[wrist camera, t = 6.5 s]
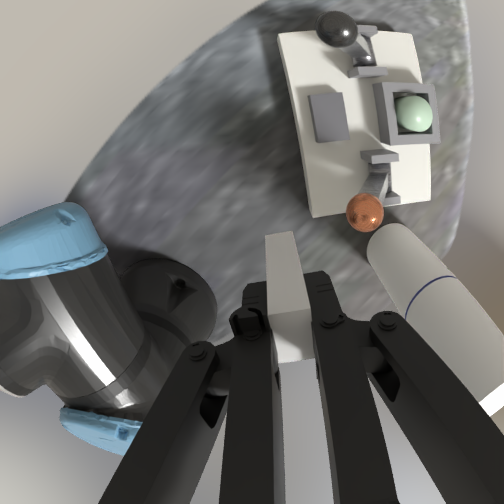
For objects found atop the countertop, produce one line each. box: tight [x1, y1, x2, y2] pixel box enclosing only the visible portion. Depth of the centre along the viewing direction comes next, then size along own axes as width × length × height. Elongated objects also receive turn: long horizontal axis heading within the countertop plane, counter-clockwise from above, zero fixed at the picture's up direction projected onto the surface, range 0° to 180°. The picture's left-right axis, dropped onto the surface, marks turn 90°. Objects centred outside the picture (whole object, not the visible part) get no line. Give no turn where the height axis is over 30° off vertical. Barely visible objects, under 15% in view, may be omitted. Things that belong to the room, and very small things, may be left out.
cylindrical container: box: [367, 223, 504, 417], centre depth 23 cm, size 7×7×25 cm
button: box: [394, 96, 433, 132], centre depth 22 cm, size 4×4×3 cm
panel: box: [277, 25, 440, 218], centre depth 24 cm, size 15×20×6 cm
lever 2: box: [346, 162, 392, 232], centre depth 22 cm, size 3×3×13 cm
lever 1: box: [315, 11, 377, 67], centre depth 16 cm, size 3×3×13 cm
